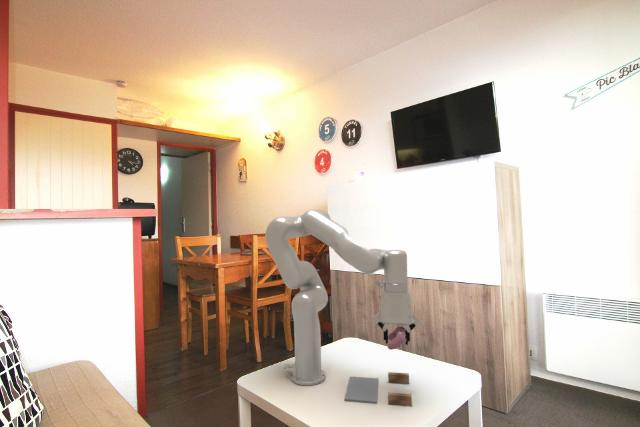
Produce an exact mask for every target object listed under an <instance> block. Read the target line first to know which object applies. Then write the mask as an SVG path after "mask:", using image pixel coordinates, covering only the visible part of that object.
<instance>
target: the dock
mask: <svg viewBox="0 0 640 427" xmlns="http://www.w3.org/2000/svg"><path fill="white" fill-rule="evenodd" d="M387 382H388V383H389V384H399V385H401V384H402V385H409V384H410V374H409V372H395V371H394V372H393V371H388V372H387ZM412 400H413V399H412V393H403V392H402V393H401V392H389V391H388V392H387V405H388V406H389V405H390V406H401V407H402V406H403V407H410V408H411V407H413V406H412V404H413V402H412Z"/></svg>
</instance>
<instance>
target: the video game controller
mask: <svg viewBox="0 0 640 427" xmlns="http://www.w3.org/2000/svg"><path fill="white" fill-rule="evenodd" d="M405 330H406V327H405V326H400V325H398V326H396V328H395V329H393V330H392V331H391V332H389V333H388V343H387V349H388V350H395V349H397V348H400V347H401V345H402V344H403V343H405V342H406V339H405V336H406V335H405Z"/></svg>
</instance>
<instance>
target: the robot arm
mask: <svg viewBox="0 0 640 427" xmlns="http://www.w3.org/2000/svg"><path fill="white" fill-rule="evenodd" d="M311 235H312V236H313V237H315V238H316V239H317V240H318V241H321V242H322V243H324V244H325V245H327V246H328V247H330V248H331V249H332V250H333V251H334V252H335V253H336V254H337V256H339V257H340V259H342V260H343V261H344V262H346V263H347V264H348V265H349V266H352V267H353V268H355V269H356V270H358V271H359V272H361V273H363V274H367V275H370V274H374V273H376V272H377V271H382V270H383V283H379V289H382V292H381V297H380V310H379V311H378V312H377V313H376V314H375V315H374V316H373V318H372V320H373V322H374V323H375V324H377V326H379V328H380V329H381V330H382V331H383V332H382V333H383V341H385V344H386V345H388V344H389V339H388V335H389V330H388V326H389V325H390V324H391V325H404V328H405V335H406V336H405V339H406V342H404V343H405V345H406V346H408V345H409V343H410V341H411V331H412V330H414V329H415V328H416V327H417V326H418V325H419V324H420V323H421V319H420V317H418V316H417V315H416V314H415V313H414V312H413V303H412V297H411V296H412V295H411V292H410V291H408V255H407V252H406V250H402V249H401V250H400V249H390V250H387V249H380V248H370V249H368V248H366V247H364V246H363V245H361V244H360V243H358V242H357V241H355V240H354V239H353V238H352V237H351V235H350V234H349V232H348V230H347V229H346V227H344V226H342V225H341V224H339V223H338V222H336V221H334V220H333V219H332V218H331V216H330V214H329V213H328V212H326V211H324V210H322V209H309V210H307V211H305V212H304V213H303V214H300V215H296V216H286V215H285V216H284V215H283V216H278V217H275V218H273V219H272V220H271V221H270V222H269V223H268V225H267V227H266V229H265V234H264V236H265V244H266V246H267V248H268V251H269V253H270V254H271V257H272V259H273V261H274V262H275V265H276V268H277V270H278V273H279V275H280V277H281V279H282V281H283V283H284V284H285V286H286V287H287V288H288V289H290V290H297V289H300V291H298V293H296V294H295V295H294V297H293V299H292V301H291V314H292V319H293V331H294V332H293V333H294V336H293V337H294V363H292V364H290V363H285V364H284V365H283V366H284V367H283V369H284V370H285V372H286V373H291V374H290V380H291V381H292V383H294V384H297V385H301V386H313V385H317V384H321V383H322V382H323V381H325V380H326V377H327V373H326V372H325V371H324V370H323V369H322V343H321V340H322V338H321V336H322V335H321V323H320V318H319V314H318V313H319V312H320V311H322V310H323V309H324V308H326V306H327V305H328V302H329V296H328V295H329V294H328V292H327V290H326V288H325V287H326V286H324V283H323V281H322V279H321V277H320V275H319V273H318V271H317V269H316V267H315V266H314V265H313V264H312V263H311V262H309V261H306V260H300V259H299V257H298V255H297V252H296V250H295V249H294V247H293V246H292V244H291V243H290V242H289V239H296V238H301V237H306V236H307V237H308V236H311ZM379 318H380V319H379ZM413 320H414V321H413Z"/></svg>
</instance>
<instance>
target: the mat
mask: <svg viewBox="0 0 640 427" xmlns="http://www.w3.org/2000/svg"><path fill="white" fill-rule="evenodd" d="M378 387H379V378H378V377H366V376H364V377H363V376H349V380H348V384H347V387H346V388H347V389H346V392H345V396H344V398H343V399H344V402H353V403H366V404H376V405H377V403H378V392H379V388H378Z"/></svg>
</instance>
